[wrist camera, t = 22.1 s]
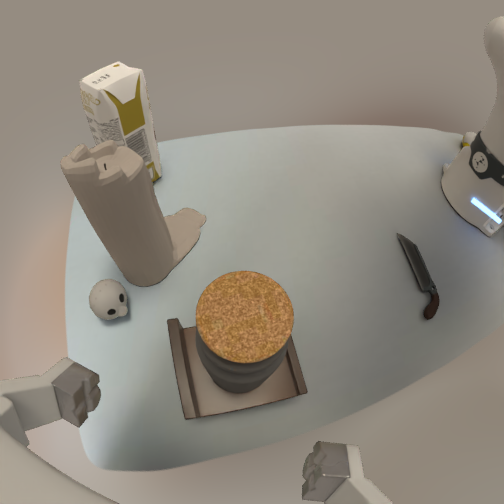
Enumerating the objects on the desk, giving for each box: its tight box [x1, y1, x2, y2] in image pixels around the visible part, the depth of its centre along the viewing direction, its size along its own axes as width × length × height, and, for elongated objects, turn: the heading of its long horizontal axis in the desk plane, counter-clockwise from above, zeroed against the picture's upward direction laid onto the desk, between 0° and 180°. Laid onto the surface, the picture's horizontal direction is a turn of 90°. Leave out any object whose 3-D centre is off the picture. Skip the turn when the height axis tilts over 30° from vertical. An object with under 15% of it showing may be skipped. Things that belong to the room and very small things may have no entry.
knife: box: [397, 233, 439, 320], centre depth 38 cm, size 14×4×1 cm, turn 11°
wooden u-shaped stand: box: [167, 318, 307, 419], centre depth 27 cm, size 11×9×8 cm
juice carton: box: [79, 61, 162, 182], centre depth 36 cm, size 8×9×19 cm
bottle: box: [195, 271, 294, 393], centre depth 20 cm, size 6×6×15 cm
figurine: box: [89, 279, 127, 320], centre depth 31 cm, size 5×5×5 cm
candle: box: [61, 140, 206, 286], centre depth 30 cm, size 7×14×20 cm, turn 144°
